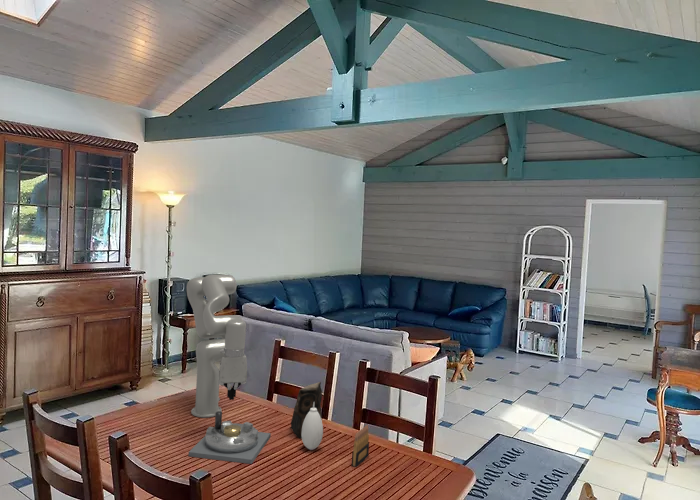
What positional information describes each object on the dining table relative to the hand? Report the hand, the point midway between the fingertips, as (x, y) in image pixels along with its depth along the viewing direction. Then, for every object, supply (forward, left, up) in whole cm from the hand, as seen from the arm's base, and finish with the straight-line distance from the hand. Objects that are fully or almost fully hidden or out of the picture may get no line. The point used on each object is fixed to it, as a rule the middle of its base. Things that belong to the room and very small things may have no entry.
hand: (231, 398), depth 193 cm
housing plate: (+7, +4, -15) cm, 17 cm away
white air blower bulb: (+2, +33, -15) cm, 36 cm away
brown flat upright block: (+7, +52, -15) cm, 54 cm away
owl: (-13, +27, -15) cm, 33 cm away
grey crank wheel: (+7, +4, -13) cm, 16 cm away
